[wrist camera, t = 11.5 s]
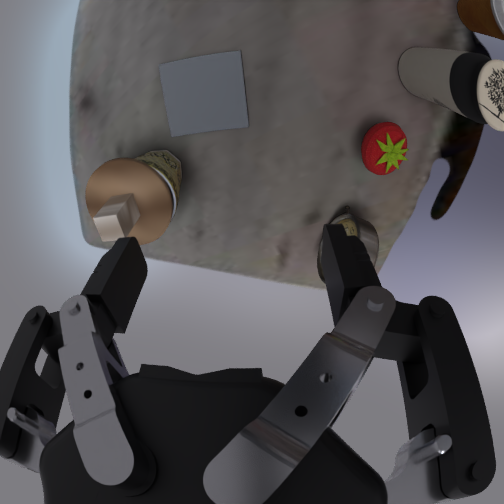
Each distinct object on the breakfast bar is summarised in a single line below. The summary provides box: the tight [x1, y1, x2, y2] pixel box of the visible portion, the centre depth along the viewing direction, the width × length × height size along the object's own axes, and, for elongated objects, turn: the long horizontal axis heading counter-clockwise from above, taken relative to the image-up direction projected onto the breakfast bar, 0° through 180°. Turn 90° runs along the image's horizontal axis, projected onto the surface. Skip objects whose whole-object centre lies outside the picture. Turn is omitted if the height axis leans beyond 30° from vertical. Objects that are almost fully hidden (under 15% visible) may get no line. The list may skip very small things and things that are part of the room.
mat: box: [159, 51, 249, 137], centre depth 34 cm, size 11×11×1 cm
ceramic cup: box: [134, 150, 182, 222], centre depth 37 cm, size 13×10×10 cm
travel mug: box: [398, 47, 504, 131], centre depth 22 cm, size 8×8×18 cm
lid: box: [86, 158, 173, 245], centre depth 31 cm, size 12×12×6 cm
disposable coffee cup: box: [457, 0, 504, 40], centre depth 16 cm, size 10×10×12 cm
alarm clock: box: [317, 206, 379, 284], centre depth 40 cm, size 11×5×16 cm, turn 158°
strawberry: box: [361, 122, 409, 175], centre depth 33 cm, size 6×8×10 cm
